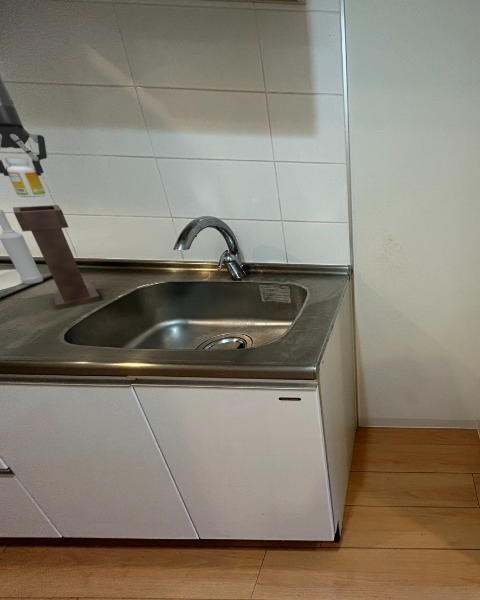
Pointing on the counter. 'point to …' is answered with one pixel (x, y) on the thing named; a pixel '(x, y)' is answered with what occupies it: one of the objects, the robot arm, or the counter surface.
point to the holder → (56, 253)
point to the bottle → (19, 252)
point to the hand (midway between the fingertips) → (23, 175)
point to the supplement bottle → (24, 178)
